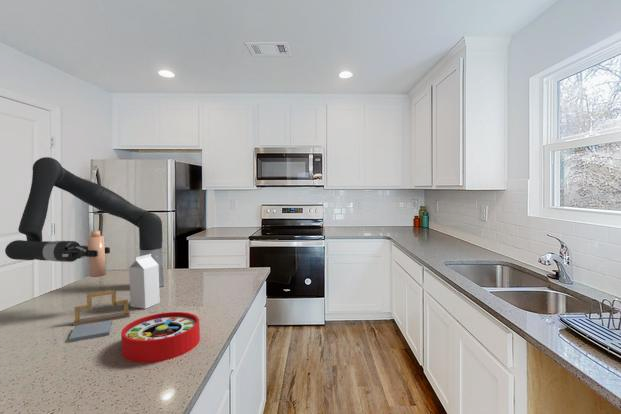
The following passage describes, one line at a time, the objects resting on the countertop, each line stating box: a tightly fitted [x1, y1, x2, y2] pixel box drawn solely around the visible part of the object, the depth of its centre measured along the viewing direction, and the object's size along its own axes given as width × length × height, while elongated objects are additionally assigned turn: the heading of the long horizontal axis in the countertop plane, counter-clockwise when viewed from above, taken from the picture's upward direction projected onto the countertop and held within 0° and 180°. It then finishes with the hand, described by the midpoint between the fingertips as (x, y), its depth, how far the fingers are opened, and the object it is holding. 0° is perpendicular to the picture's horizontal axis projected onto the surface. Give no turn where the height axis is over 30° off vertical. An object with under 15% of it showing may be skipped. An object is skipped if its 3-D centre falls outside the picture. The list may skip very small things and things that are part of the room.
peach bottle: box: [87, 230, 107, 278], centre depth 120 cm, size 5×5×16 cm
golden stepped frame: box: [72, 289, 131, 327], centre depth 113 cm, size 16×3×10 cm, turn 117°
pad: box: [68, 320, 113, 343], centre depth 103 cm, size 10×10×1 cm
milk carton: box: [128, 254, 161, 310], centre depth 126 cm, size 7×7×19 cm
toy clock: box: [121, 311, 201, 364], centre depth 94 cm, size 20×6×20 cm
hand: (103, 251), depth 119 cm, fingers closed on peach bottle, 5 cm apart
